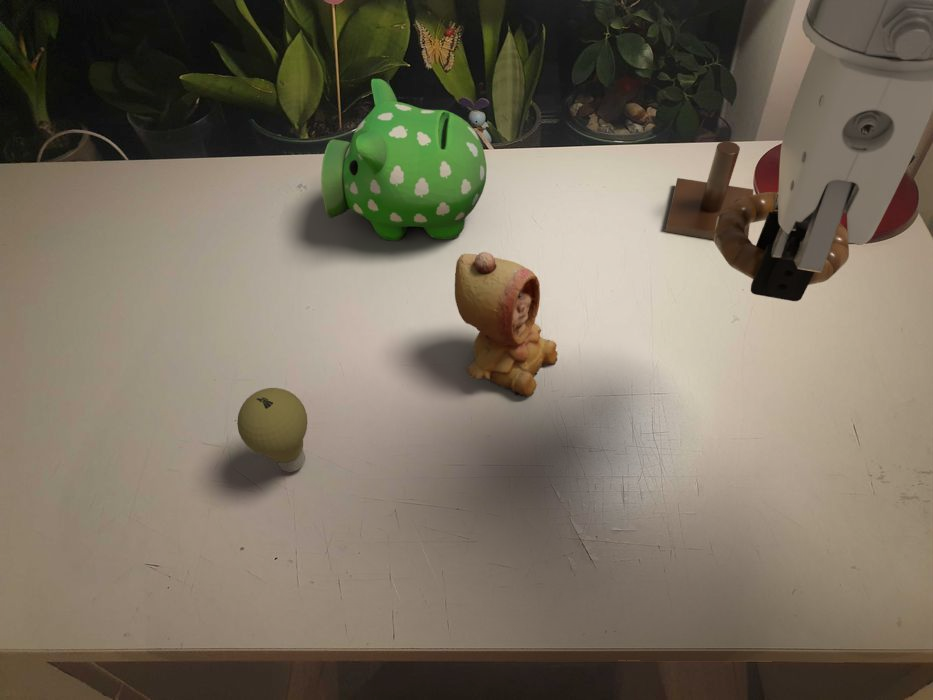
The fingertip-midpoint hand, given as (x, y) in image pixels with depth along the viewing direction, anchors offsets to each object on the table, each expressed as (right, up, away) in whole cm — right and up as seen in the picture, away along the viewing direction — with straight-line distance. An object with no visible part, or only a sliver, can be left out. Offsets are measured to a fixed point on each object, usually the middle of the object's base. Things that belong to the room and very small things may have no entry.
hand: (775, 276), depth 45 cm
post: (+8, +11, +33) cm, 36 cm away
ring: (+1, +3, +1) cm, 3 cm away
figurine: (-17, -6, +21) cm, 28 cm away
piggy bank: (-28, +11, +36) cm, 47 cm away
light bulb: (-37, -16, +15) cm, 43 cm away
